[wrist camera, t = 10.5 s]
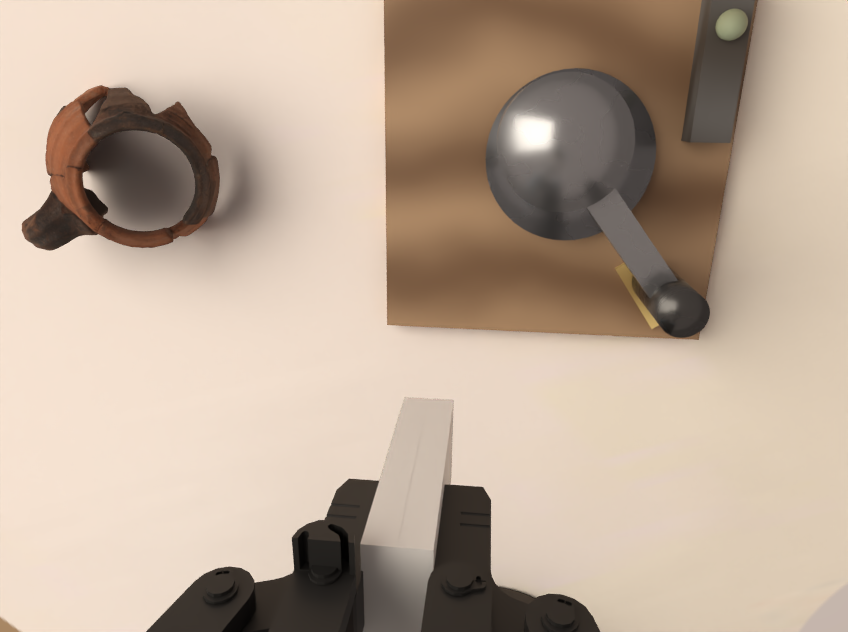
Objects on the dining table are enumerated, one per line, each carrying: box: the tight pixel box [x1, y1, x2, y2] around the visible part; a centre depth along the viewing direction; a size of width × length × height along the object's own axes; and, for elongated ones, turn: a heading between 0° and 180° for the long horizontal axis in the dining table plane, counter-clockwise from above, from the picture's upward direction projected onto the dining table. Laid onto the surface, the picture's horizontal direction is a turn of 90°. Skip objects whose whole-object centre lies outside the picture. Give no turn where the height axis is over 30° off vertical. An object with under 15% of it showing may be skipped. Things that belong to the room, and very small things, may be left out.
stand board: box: [384, 0, 757, 340], centre depth 33 cm, size 20×19×4 cm
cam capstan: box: [485, 68, 710, 338], centre depth 31 cm, size 14×9×6 cm, turn 38°
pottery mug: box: [22, 85, 220, 250], centre depth 36 cm, size 12×9×8 cm
